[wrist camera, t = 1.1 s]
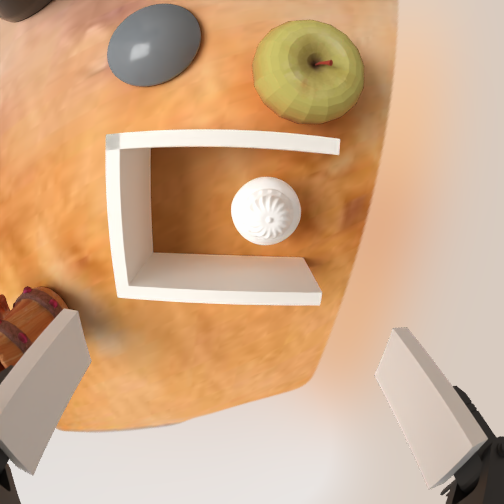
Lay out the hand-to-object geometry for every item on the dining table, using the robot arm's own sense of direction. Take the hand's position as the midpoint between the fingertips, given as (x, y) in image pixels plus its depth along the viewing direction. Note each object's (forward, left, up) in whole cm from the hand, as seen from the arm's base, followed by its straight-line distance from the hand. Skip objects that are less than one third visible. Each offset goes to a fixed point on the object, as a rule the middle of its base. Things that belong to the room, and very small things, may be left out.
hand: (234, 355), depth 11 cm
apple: (-15, +5, -20) cm, 26 cm away
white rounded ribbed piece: (-2, +2, -20) cm, 20 cm away
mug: (+11, -28, -20) cm, 36 cm away
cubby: (-2, -2, -20) cm, 20 cm away
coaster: (-19, -10, -20) cm, 29 cm away
